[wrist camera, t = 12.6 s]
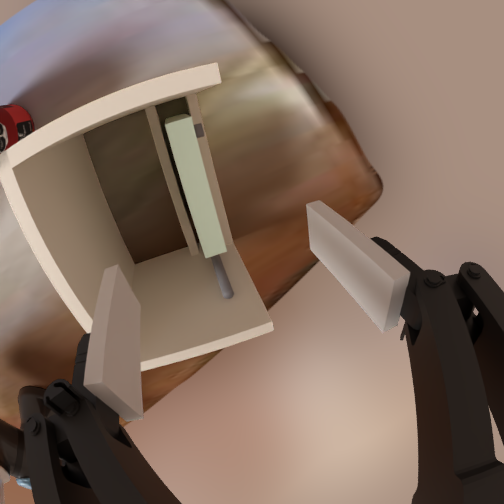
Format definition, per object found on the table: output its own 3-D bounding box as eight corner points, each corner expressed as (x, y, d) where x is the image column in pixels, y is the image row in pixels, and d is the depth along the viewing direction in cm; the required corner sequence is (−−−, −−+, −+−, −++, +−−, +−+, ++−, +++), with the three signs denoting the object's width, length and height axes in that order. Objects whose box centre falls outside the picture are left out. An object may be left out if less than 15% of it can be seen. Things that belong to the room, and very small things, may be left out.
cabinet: (230, 241, 36) (274, 330, 23) (130, 274, 34) (123, 375, 21) (191, 84, 25) (217, 62, 12) (70, 128, 23) (-7, 159, 10)
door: (216, 208, 33) (235, 248, 25) (193, 215, 33) (205, 258, 24) (191, 111, 26) (201, 113, 18) (165, 118, 26) (164, 124, 18)
